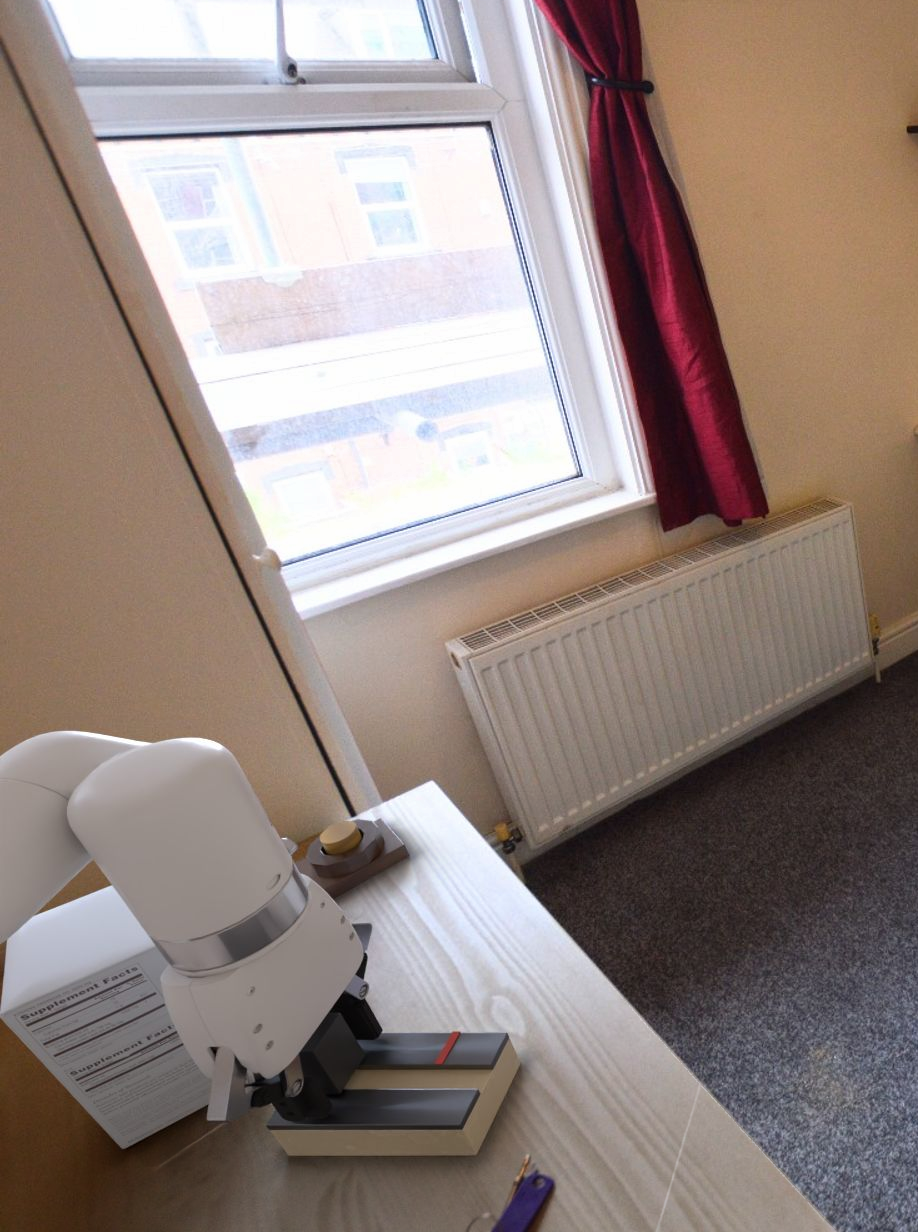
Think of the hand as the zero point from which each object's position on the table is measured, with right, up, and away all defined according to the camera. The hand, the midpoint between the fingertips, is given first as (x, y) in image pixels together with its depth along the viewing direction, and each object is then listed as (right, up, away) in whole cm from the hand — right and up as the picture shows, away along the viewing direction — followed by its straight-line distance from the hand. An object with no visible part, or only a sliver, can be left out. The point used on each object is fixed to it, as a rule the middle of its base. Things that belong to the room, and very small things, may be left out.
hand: (335, 1071), depth 65 cm
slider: (0, -1, +1) cm, 1 cm away
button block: (-16, +8, +23) cm, 29 cm away
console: (+4, -4, +2) cm, 6 cm away
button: (-16, +10, +21) cm, 29 cm away
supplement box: (-15, -3, +5) cm, 16 cm away
